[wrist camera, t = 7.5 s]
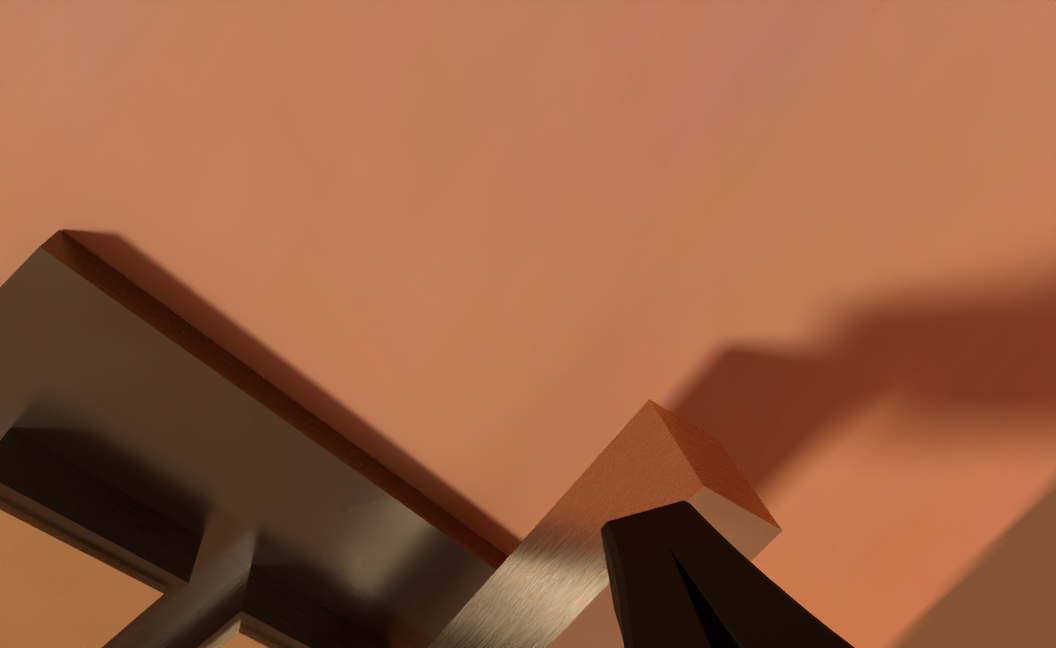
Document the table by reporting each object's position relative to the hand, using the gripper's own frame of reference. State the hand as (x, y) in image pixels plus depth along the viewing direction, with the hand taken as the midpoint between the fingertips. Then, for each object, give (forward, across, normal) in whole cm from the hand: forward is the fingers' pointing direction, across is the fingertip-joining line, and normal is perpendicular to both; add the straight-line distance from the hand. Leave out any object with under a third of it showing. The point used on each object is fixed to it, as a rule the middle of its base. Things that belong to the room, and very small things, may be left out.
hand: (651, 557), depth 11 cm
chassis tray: (+8, +12, +6) cm, 15 cm away
